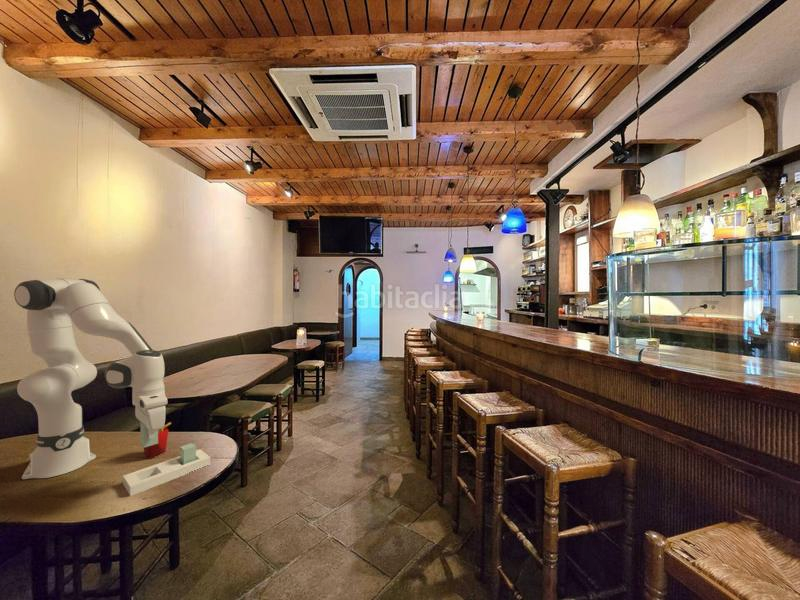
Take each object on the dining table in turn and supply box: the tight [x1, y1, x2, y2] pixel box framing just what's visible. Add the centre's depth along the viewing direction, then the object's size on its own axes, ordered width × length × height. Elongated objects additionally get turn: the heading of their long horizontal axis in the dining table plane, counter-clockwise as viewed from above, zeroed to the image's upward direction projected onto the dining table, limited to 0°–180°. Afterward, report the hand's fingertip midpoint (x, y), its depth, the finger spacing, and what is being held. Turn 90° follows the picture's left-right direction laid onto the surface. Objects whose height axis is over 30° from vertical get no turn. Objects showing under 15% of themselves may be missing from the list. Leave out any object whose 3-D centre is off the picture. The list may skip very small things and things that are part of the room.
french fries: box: [143, 421, 172, 459], centre depth 128 cm, size 9×8×15 cm
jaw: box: [139, 421, 158, 449], centre depth 109 cm, size 4×4×8 cm
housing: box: [122, 442, 211, 497], centre depth 114 cm, size 10×24×8 cm, turn 142°
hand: (149, 435), depth 109 cm, fingers closed on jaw, 4 cm apart
